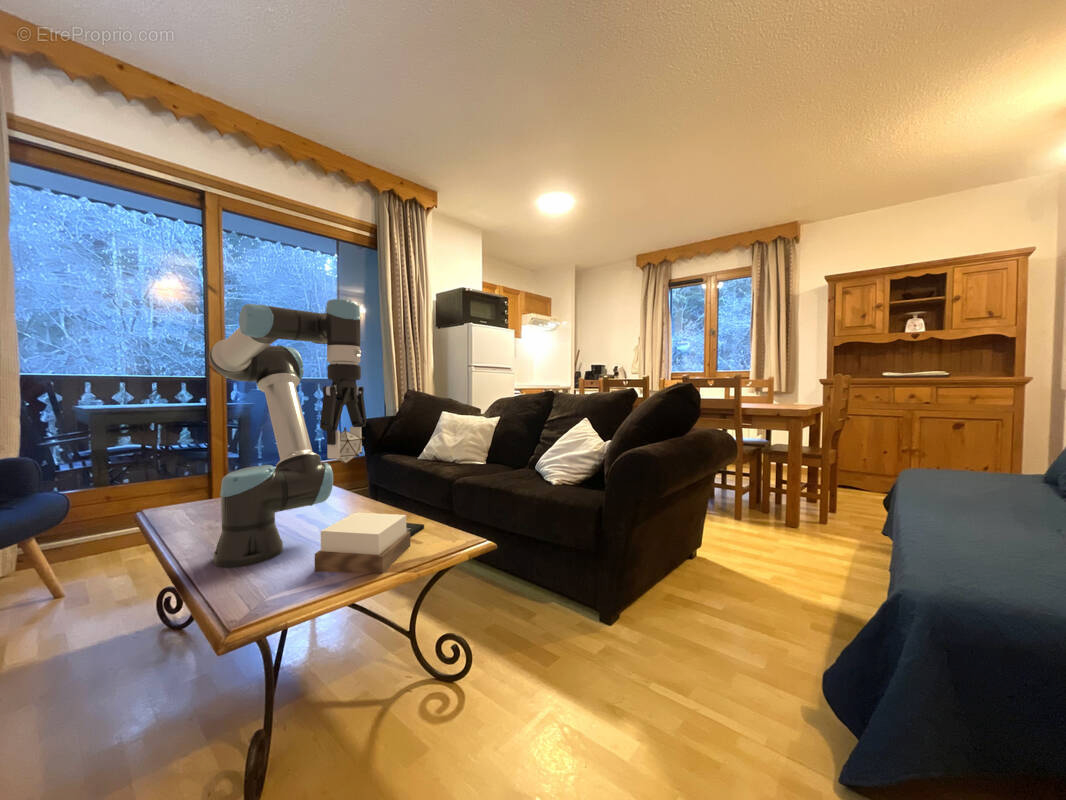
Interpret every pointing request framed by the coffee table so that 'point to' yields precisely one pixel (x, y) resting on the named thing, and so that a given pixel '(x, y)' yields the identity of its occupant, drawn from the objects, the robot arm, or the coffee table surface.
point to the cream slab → (363, 533)
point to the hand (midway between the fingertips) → (345, 455)
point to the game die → (349, 446)
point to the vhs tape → (414, 528)
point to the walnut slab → (361, 559)
